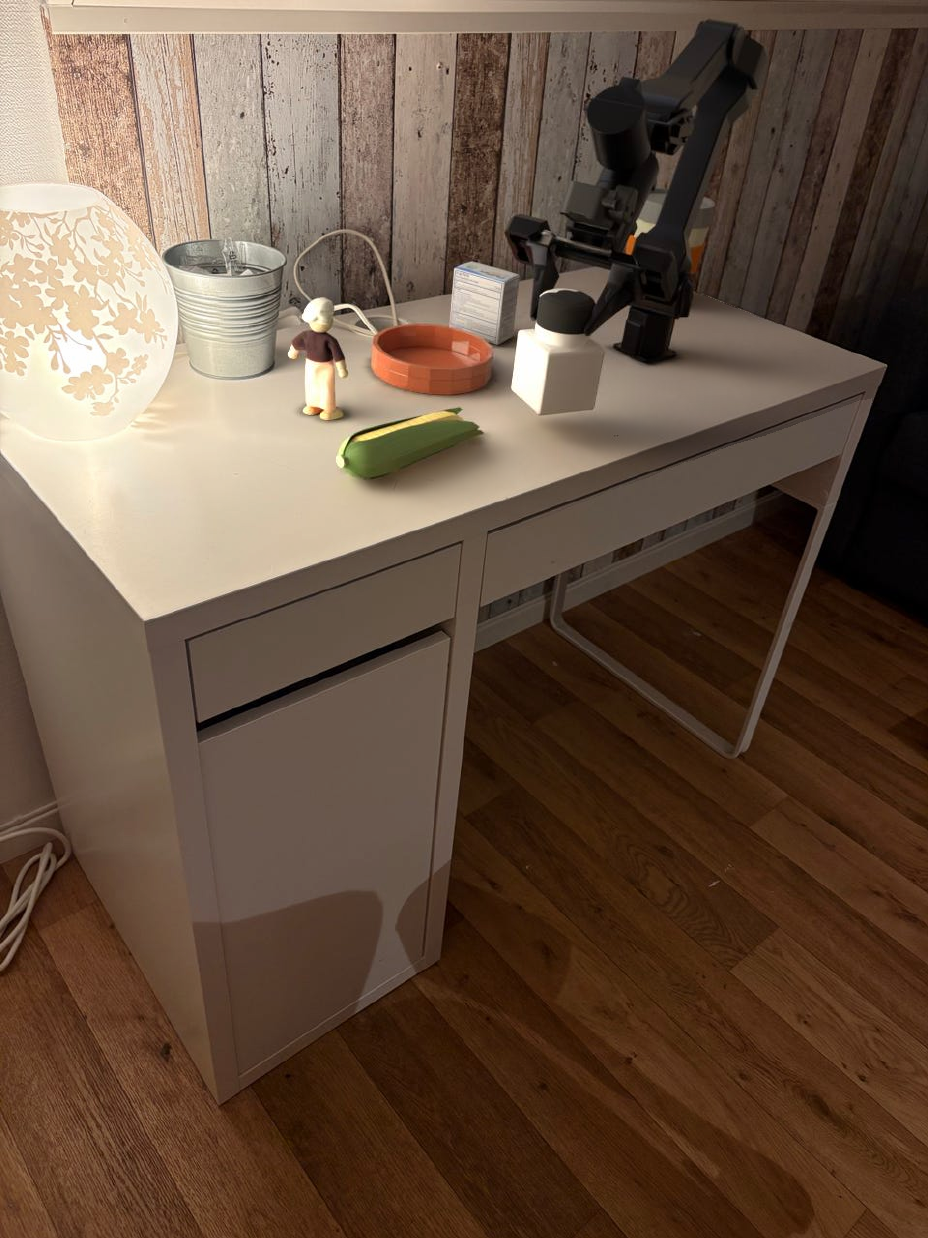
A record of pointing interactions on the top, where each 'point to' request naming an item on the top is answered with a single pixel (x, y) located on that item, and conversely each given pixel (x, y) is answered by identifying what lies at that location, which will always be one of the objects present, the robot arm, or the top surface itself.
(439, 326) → the plant saucer
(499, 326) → the medicine box
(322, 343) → the grandmother figurine
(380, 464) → the edible corn
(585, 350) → the medicine bottle
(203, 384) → the top surface
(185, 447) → the top surface
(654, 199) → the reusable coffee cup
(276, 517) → the top surface
